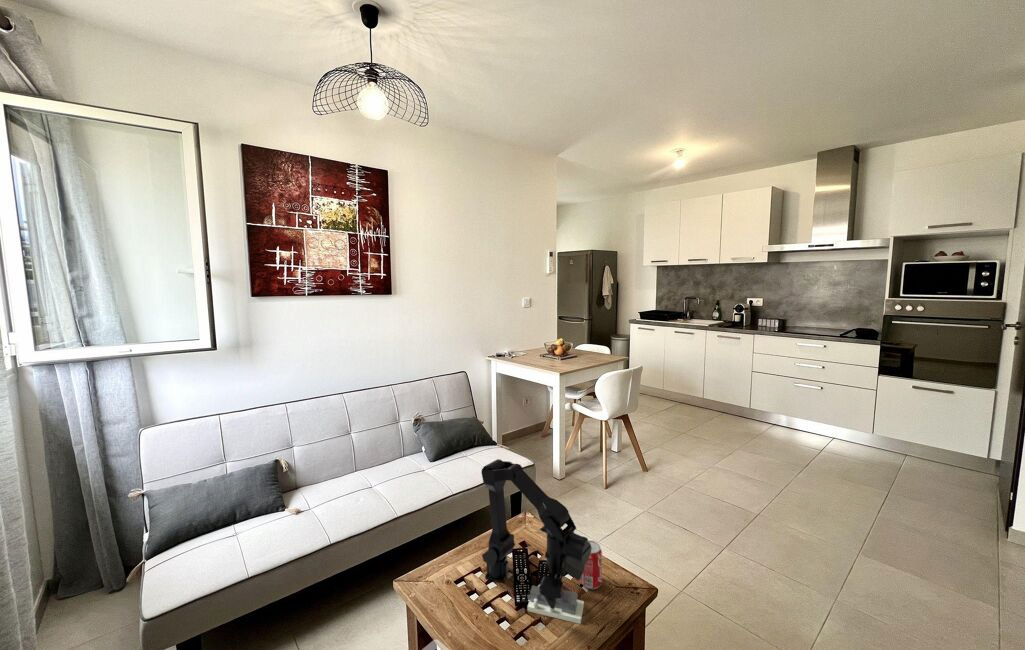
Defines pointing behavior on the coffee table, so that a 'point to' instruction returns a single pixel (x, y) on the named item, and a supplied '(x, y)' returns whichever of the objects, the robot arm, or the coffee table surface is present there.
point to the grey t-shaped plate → (557, 600)
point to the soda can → (593, 568)
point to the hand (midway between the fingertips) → (555, 595)
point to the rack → (556, 611)
